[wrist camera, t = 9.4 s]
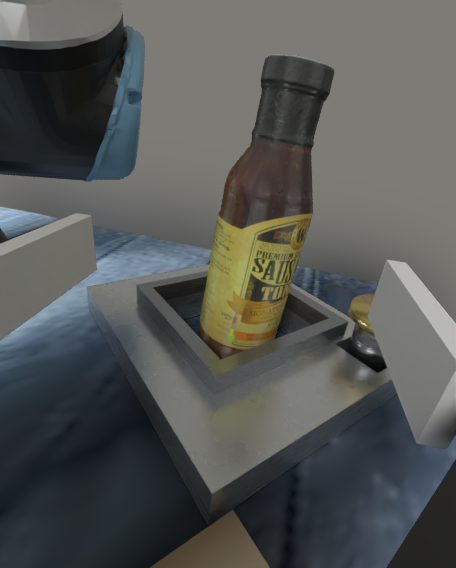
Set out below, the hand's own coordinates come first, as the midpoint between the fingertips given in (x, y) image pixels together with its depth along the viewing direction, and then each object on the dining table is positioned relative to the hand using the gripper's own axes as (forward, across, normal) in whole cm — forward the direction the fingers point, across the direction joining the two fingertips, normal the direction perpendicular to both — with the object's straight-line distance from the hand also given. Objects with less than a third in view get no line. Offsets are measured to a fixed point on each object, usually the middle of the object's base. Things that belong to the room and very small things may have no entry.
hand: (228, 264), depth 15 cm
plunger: (+8, +10, -9) cm, 16 cm away
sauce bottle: (+9, 0, -11) cm, 14 cm away
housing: (+9, 0, -11) cm, 14 cm away
